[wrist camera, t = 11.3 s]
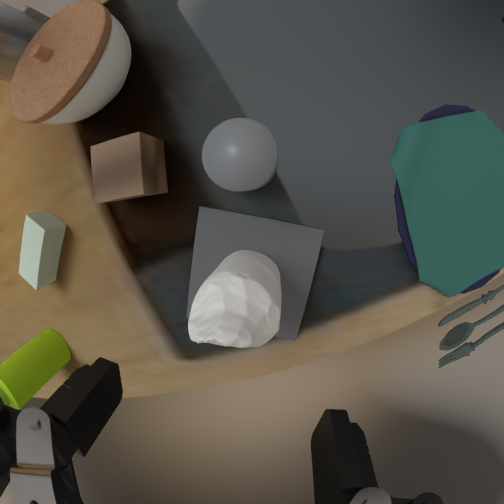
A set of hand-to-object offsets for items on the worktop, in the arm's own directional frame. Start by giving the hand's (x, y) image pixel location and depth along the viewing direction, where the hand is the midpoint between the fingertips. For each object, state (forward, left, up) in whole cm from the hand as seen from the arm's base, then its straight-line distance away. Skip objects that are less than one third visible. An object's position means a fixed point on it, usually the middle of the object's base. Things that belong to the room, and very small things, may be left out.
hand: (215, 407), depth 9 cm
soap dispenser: (+18, -26, -17) cm, 36 cm away
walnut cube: (-8, -12, -17) cm, 22 cm away
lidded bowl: (-18, -20, -17) cm, 32 cm away
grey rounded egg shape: (-10, -2, -17) cm, 19 cm away
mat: (0, 0, -17) cm, 17 cm away
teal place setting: (-8, +23, -17) cm, 30 cm away
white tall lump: (0, 0, -16) cm, 16 cm away
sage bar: (+2, -25, -17) cm, 30 cm away
